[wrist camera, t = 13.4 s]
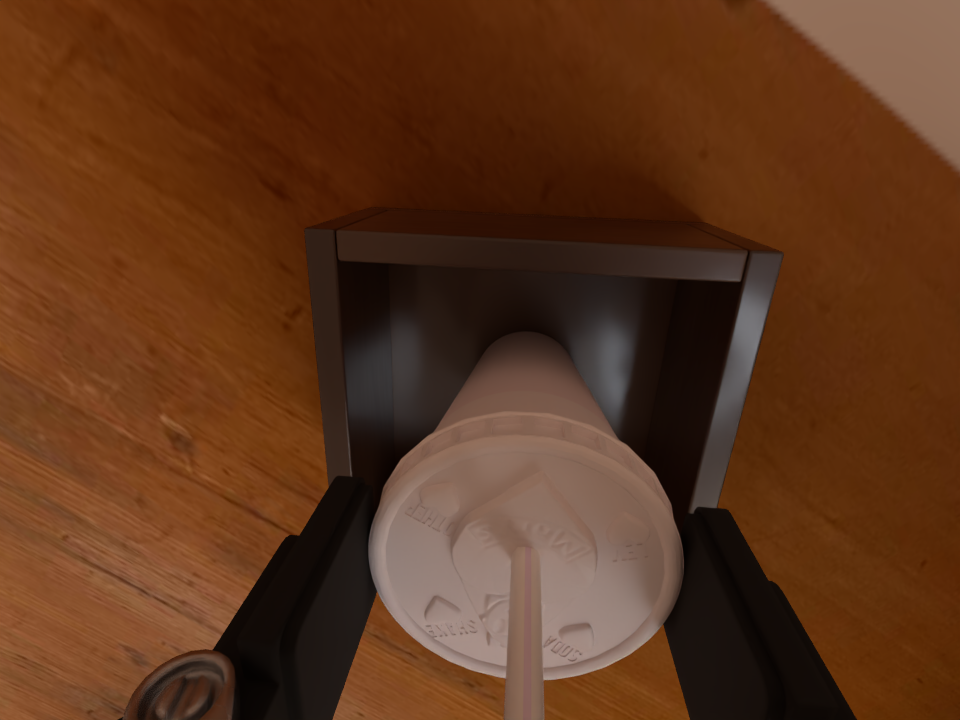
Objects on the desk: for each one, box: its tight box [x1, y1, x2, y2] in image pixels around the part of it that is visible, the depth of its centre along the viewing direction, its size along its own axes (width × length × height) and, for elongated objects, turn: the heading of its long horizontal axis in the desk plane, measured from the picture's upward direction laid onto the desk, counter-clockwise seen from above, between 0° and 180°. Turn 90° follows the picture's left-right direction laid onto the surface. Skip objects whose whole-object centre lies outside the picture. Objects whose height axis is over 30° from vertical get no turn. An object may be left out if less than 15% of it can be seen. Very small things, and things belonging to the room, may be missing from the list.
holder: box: [304, 207, 784, 535], centre depth 17 cm, size 12×12×6 cm
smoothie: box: [368, 331, 684, 720], centre depth 12 cm, size 6×6×14 cm
